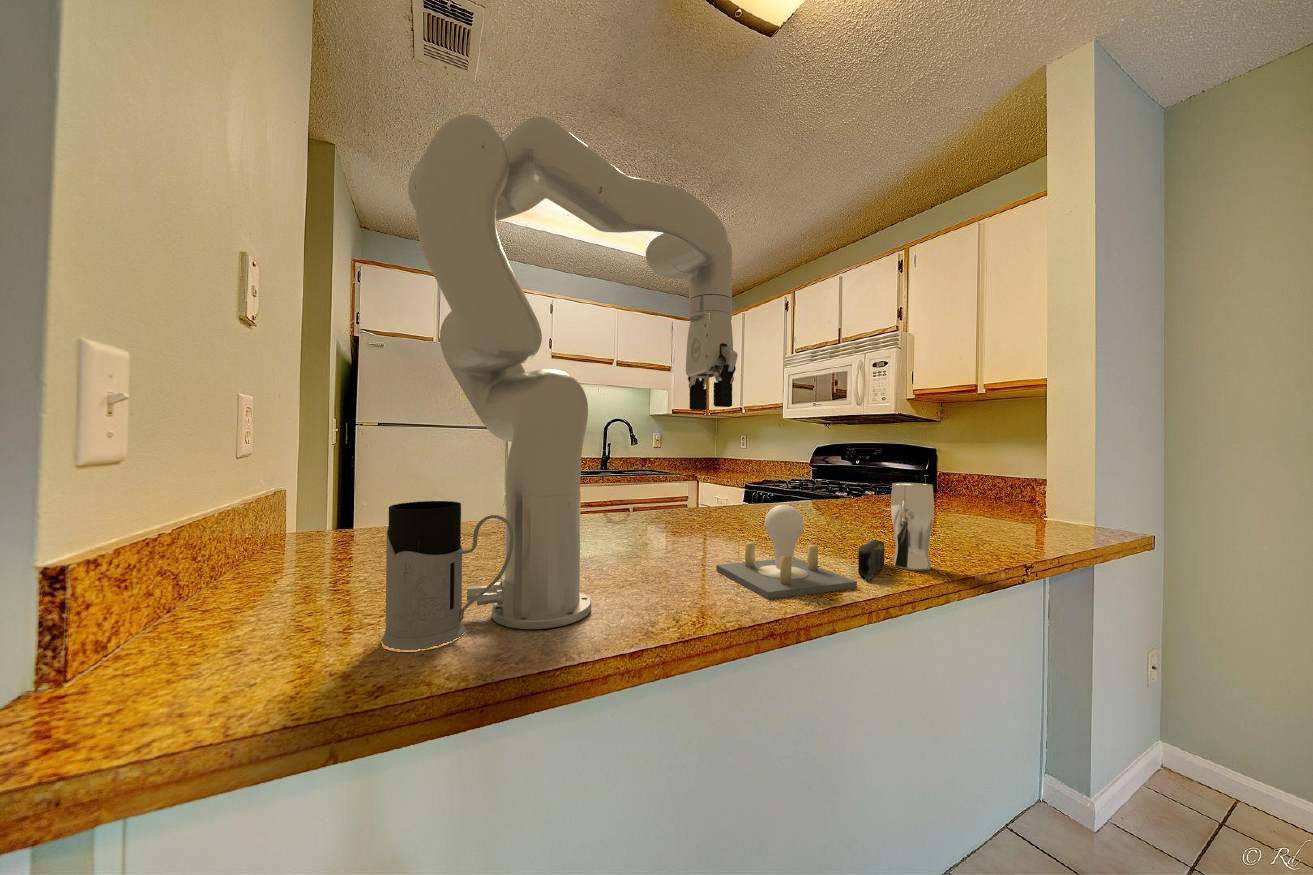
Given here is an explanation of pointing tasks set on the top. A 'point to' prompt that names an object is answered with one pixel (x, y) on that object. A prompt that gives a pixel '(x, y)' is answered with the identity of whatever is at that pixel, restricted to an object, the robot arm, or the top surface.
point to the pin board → (785, 590)
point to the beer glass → (912, 524)
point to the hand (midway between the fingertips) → (709, 408)
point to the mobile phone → (870, 558)
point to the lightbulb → (783, 530)
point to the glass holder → (427, 574)
